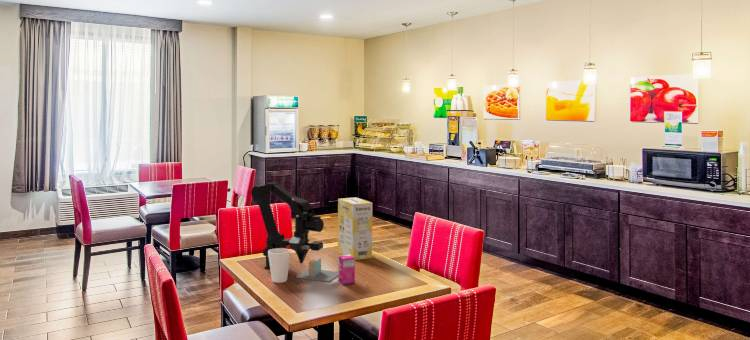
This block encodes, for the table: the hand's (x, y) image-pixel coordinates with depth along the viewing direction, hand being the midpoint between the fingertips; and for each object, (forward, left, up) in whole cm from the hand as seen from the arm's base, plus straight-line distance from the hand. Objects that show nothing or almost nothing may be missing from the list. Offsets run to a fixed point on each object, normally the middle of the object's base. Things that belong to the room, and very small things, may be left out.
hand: (301, 263), depth 240 cm
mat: (+9, 0, -5) cm, 10 cm away
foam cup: (-5, -12, -5) cm, 14 cm away
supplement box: (+24, -5, -5) cm, 24 cm away
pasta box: (+11, +39, -5) cm, 41 cm away
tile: (+7, 0, -4) cm, 8 cm away
